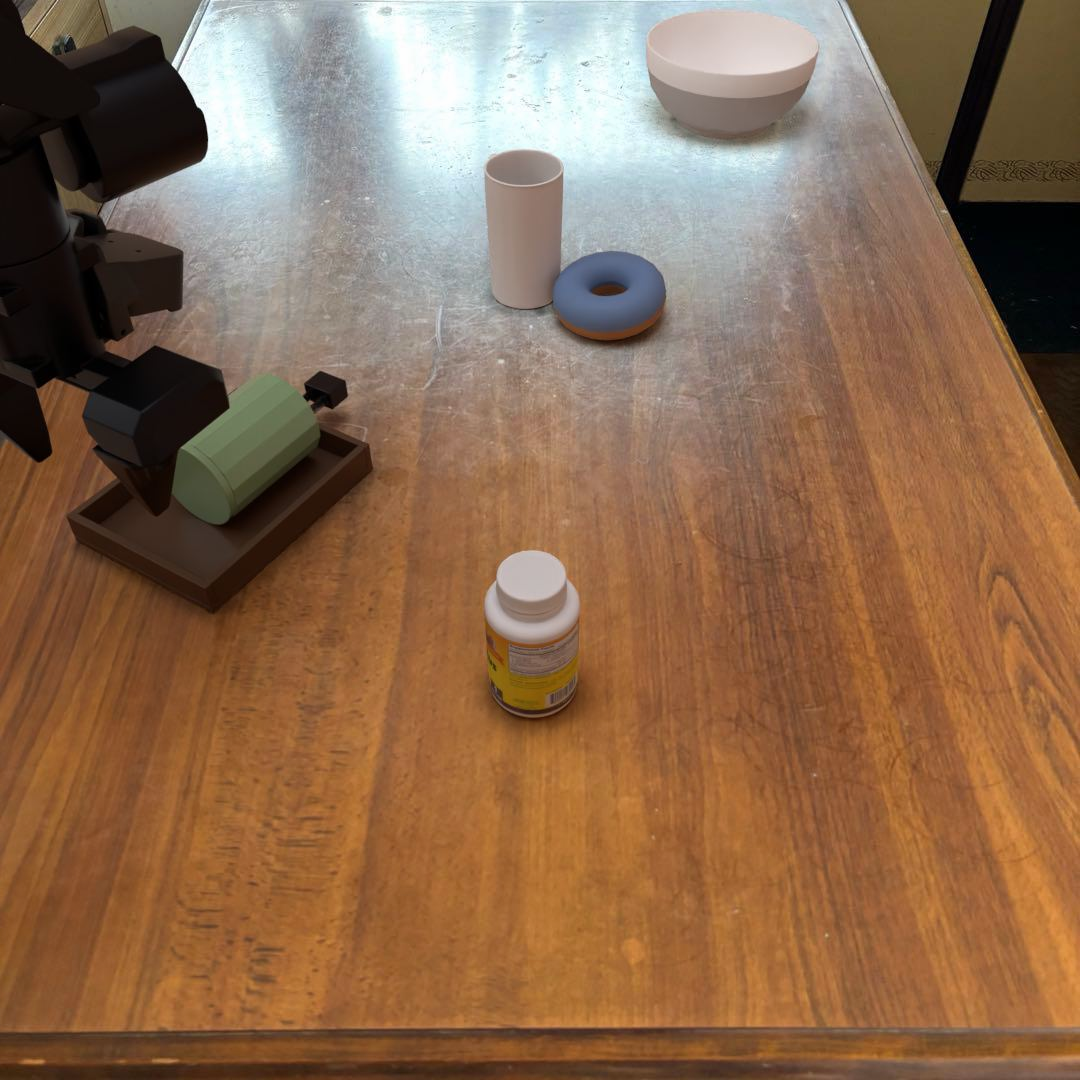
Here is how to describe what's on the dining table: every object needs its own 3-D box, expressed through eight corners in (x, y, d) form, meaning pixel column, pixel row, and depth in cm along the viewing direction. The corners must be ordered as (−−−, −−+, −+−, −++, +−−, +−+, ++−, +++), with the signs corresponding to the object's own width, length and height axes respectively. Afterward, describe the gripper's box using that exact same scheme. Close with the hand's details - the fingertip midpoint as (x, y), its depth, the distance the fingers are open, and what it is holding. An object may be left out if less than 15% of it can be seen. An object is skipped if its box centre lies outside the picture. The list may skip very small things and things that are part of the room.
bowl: (724, 172, 118) (734, 90, 111) (607, 113, 128) (610, 36, 122) (840, 123, 126) (855, 44, 120) (722, 71, 136) (730, -3, 130)
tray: (213, 614, 73) (205, 588, 72) (76, 540, 78) (65, 515, 76) (373, 468, 84) (369, 443, 82) (243, 412, 89) (236, 387, 87)
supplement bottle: (496, 647, 71) (490, 534, 64) (582, 656, 71) (586, 543, 63) (481, 717, 67) (474, 606, 60) (572, 727, 67) (575, 615, 59)
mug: (576, 298, 100) (579, 173, 92) (511, 319, 98) (508, 193, 89) (521, 249, 106) (519, 128, 98) (460, 267, 104) (452, 145, 96)
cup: (234, 488, 74) (326, 413, 79) (157, 426, 74) (254, 356, 80) (225, 540, 79) (312, 466, 85) (153, 482, 80) (244, 413, 85)
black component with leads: (220, 491, 77) (337, 358, 84) (193, 478, 78) (311, 348, 85) (239, 523, 81) (350, 393, 87) (213, 511, 82) (325, 383, 88)
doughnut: (562, 354, 94) (562, 308, 91) (544, 291, 101) (544, 246, 98) (676, 344, 95) (680, 298, 92) (650, 282, 102) (654, 238, 99)
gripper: (271, 212, 54) (318, 456, 65) (5, 129, 60) (88, 363, 71) (102, 325, 47) (186, 576, 58) (-178, 217, 53) (-54, 461, 64)
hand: (101, 483), depth 63 cm, fingers open, 9 cm apart
